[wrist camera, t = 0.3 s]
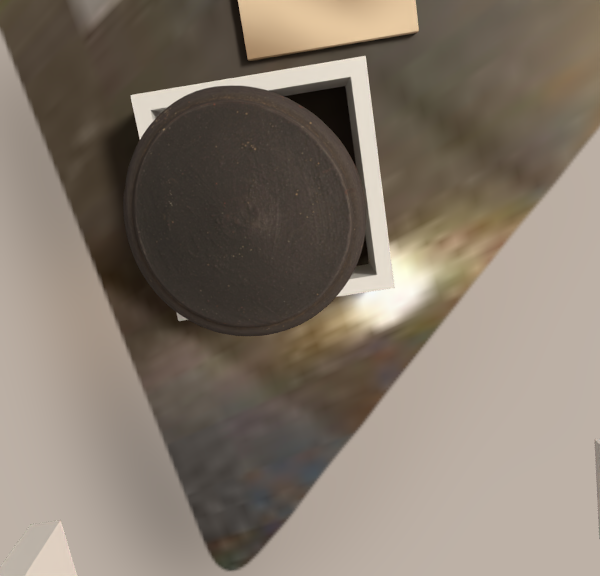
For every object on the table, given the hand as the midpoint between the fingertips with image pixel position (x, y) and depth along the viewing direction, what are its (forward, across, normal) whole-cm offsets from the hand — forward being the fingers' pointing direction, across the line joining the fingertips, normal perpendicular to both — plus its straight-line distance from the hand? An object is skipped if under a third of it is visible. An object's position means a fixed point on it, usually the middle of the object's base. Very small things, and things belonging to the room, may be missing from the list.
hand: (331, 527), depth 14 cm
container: (+27, -2, +7) cm, 28 cm away
